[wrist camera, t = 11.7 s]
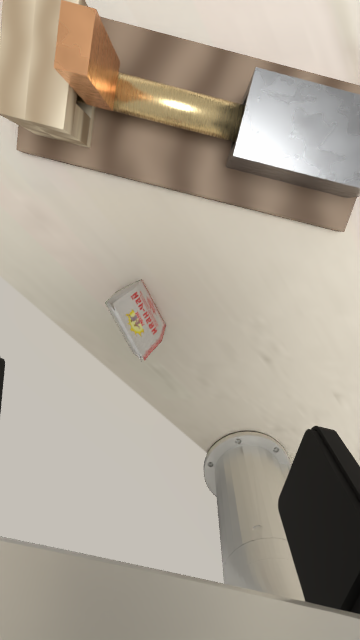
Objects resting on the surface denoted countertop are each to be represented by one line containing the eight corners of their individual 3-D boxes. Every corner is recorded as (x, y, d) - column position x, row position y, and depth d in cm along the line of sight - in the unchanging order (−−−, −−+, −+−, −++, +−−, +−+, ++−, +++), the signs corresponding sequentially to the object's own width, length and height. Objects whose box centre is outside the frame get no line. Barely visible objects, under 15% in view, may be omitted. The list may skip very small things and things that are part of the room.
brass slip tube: (280, 116, 34) (320, 68, 23) (268, 158, 35) (301, 131, 24) (65, 60, 33) (5, -16, 23) (59, 105, 34) (0, 53, 24)
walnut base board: (386, 99, 36) (394, 94, 35) (338, 231, 40) (344, 231, 39) (36, 7, 35) (29, -2, 33) (22, 152, 39) (16, 149, 37)
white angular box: (141, 336, 45) (127, 368, 35) (116, 291, 43) (94, 312, 34) (165, 325, 44) (158, 354, 35) (141, 279, 43) (127, 296, 33)
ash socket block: (105, 42, 34) (80, -9, 27) (90, 148, 37) (63, 129, 29) (47, 27, 34) (4, -30, 26) (36, 134, 37) (-5, 112, 29)
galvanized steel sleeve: (371, 129, 36) (413, 108, 29) (347, 198, 38) (380, 193, 31) (243, 96, 35) (255, 67, 28) (225, 167, 37) (232, 155, 30)
